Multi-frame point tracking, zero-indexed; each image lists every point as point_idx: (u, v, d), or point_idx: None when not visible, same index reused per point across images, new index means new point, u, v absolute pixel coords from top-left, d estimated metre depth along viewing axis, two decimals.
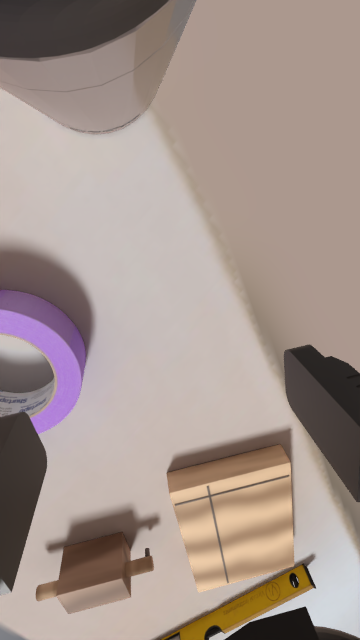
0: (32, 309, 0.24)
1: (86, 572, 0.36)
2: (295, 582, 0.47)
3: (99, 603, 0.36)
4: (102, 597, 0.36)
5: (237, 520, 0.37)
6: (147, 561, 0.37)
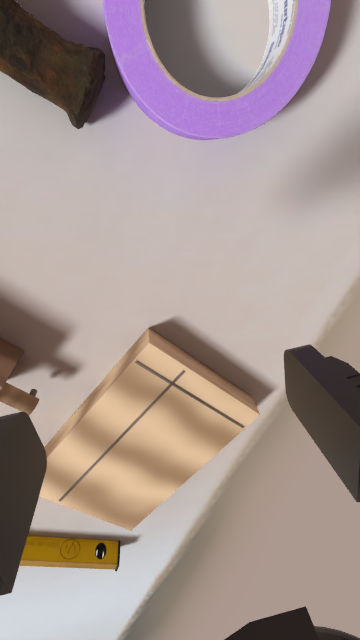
0: None
1: None
2: (100, 553, 0.39)
3: None
4: None
5: (155, 435, 0.30)
6: (33, 399, 0.26)
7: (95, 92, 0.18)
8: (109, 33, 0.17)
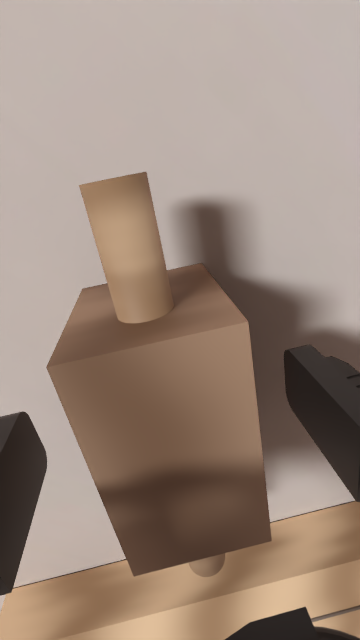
0: None
1: None
2: None
3: (118, 489, 0.08)
4: (161, 497, 0.08)
5: None
6: None
7: None
8: None
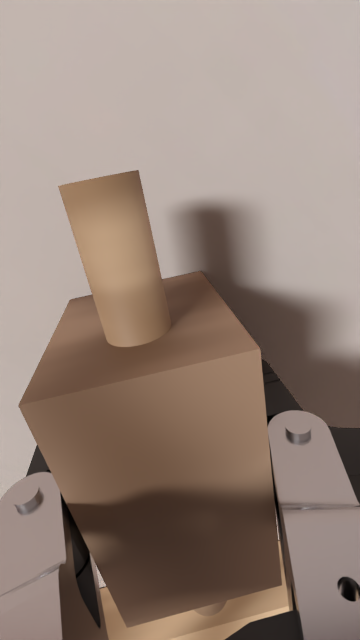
0: None
1: None
2: None
3: (107, 538, 0.07)
4: (158, 545, 0.07)
5: None
6: None
7: None
8: None
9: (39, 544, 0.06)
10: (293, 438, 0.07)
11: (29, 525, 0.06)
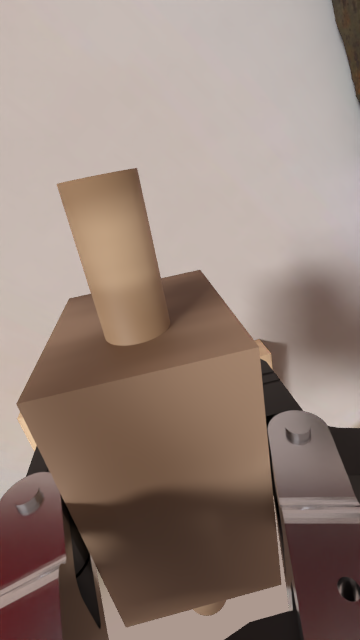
0: None
1: None
2: None
3: (106, 537, 0.07)
4: (157, 543, 0.07)
5: None
6: None
7: None
8: None
9: (39, 544, 0.06)
10: (293, 438, 0.07)
11: (29, 525, 0.06)
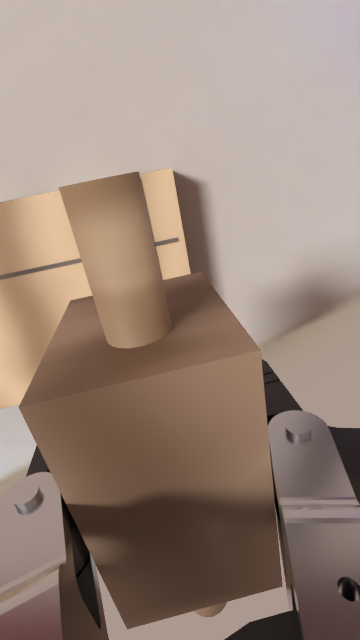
0: None
1: None
2: None
3: (107, 539, 0.07)
4: (158, 545, 0.07)
5: None
6: None
7: None
8: None
9: (39, 544, 0.06)
10: (293, 438, 0.07)
11: (29, 525, 0.06)
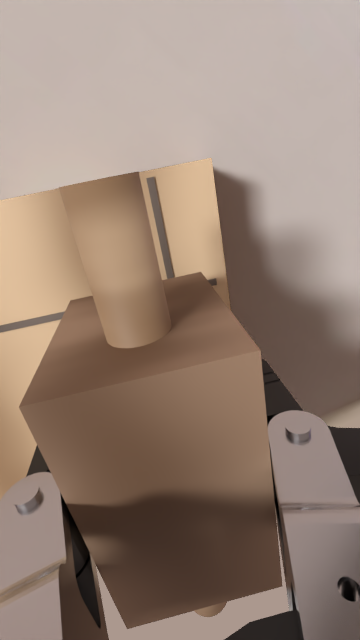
0: None
1: None
2: None
3: (107, 539, 0.07)
4: (158, 545, 0.07)
5: None
6: None
7: None
8: None
9: (39, 544, 0.06)
10: (293, 438, 0.07)
11: (28, 525, 0.06)
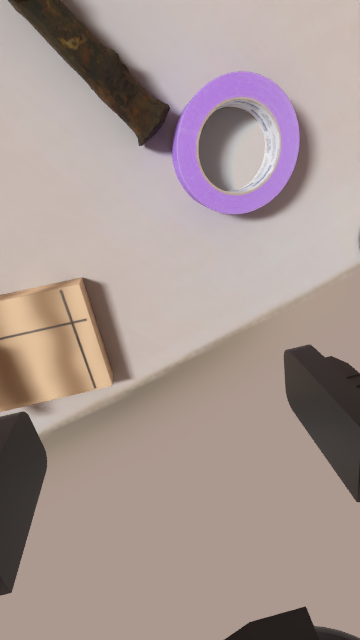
0: None
1: None
2: None
3: None
4: None
5: (30, 353, 0.36)
6: None
7: (158, 127, 0.30)
8: (184, 114, 0.29)
9: None
10: None
11: None
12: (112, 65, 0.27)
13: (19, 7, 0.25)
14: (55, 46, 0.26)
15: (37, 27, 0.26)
